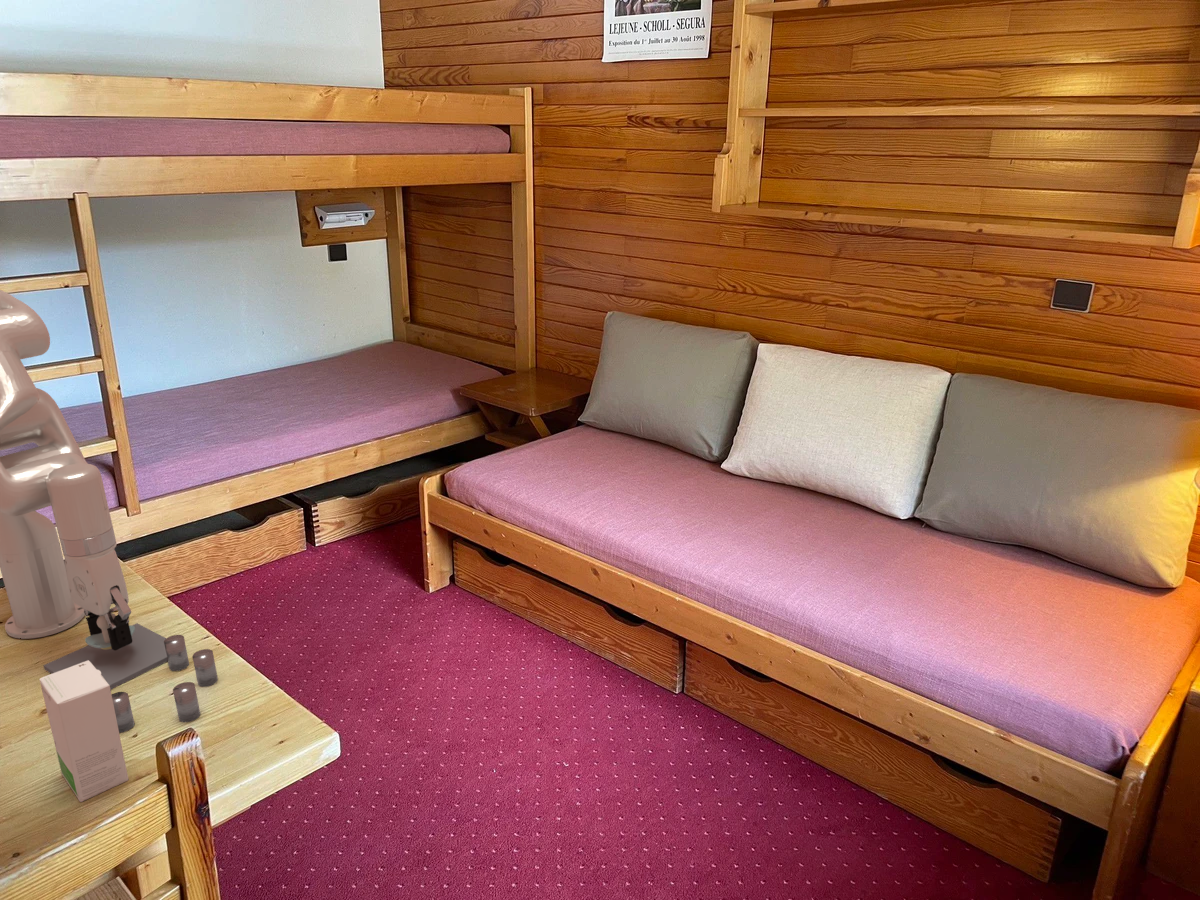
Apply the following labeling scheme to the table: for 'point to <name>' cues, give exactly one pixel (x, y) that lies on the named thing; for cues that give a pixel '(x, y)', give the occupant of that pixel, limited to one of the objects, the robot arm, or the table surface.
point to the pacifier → (103, 634)
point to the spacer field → (182, 692)
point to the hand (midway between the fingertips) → (111, 639)
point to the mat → (119, 657)
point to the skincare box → (84, 729)
